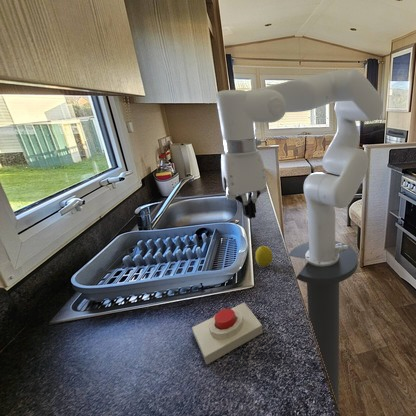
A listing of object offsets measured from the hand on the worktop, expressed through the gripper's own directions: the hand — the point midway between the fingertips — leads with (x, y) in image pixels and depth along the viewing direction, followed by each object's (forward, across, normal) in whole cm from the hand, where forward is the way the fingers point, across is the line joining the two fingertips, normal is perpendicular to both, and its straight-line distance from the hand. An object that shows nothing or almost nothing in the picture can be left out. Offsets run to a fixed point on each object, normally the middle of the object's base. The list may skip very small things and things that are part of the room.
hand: (250, 216), depth 69 cm
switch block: (+23, +14, +11) cm, 29 cm away
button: (+19, +14, +11) cm, 26 cm away
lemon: (+23, -6, -8) cm, 25 cm away
